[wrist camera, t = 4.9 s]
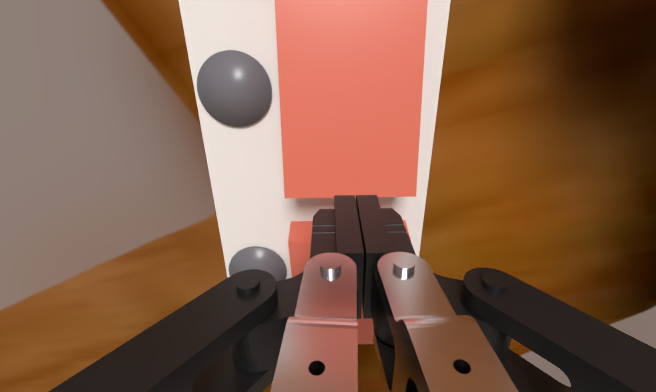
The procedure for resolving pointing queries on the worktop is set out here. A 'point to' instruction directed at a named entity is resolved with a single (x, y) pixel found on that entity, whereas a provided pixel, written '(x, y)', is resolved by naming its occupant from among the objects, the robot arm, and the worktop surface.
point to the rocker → (301, 254)
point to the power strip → (273, 129)
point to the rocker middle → (350, 95)
